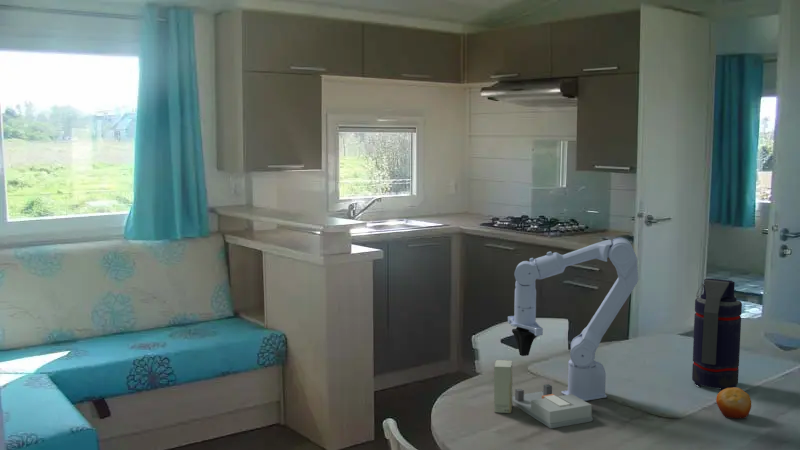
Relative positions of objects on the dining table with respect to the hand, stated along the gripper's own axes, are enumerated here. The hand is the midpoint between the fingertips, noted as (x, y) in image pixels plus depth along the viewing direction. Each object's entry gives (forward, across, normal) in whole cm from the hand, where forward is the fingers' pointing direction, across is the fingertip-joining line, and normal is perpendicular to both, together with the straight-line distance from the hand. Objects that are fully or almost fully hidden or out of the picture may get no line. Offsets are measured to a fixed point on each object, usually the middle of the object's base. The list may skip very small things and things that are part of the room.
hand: (524, 355), depth 213 cm
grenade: (+10, +18, +50) cm, 54 cm away
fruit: (+10, +36, +38) cm, 54 cm away
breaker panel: (+10, +14, -2) cm, 17 cm away
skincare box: (+11, +9, -12) cm, 18 cm away
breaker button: (+9, +18, -2) cm, 20 cm away
